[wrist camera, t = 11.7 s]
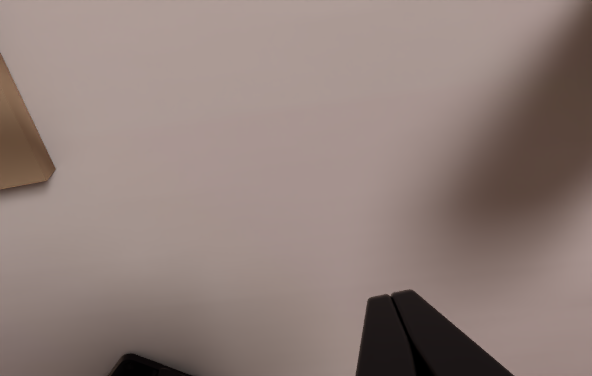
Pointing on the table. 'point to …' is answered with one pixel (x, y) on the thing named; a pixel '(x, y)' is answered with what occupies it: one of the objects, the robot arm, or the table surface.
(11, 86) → the board
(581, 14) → the table surface
